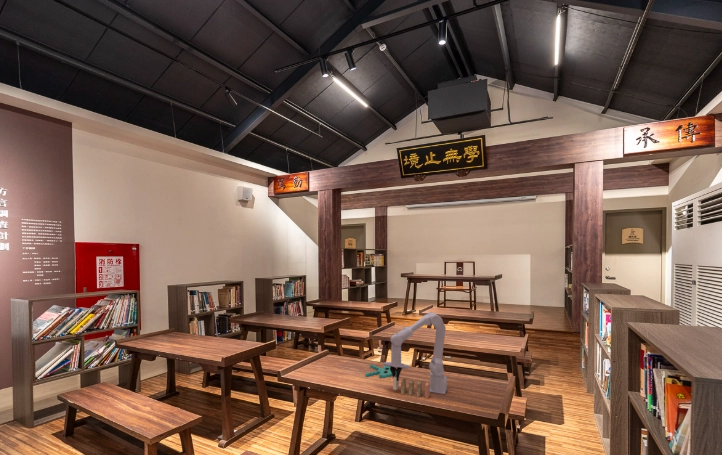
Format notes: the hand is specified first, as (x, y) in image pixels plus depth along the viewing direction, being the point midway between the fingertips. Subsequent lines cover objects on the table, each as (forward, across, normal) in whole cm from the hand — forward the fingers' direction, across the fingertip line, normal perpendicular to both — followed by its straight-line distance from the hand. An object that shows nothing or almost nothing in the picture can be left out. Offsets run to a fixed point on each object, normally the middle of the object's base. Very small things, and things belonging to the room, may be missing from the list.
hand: (396, 380), depth 205 cm
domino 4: (+6, -18, 0) cm, 19 cm away
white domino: (+4, 0, 0) cm, 4 cm away
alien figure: (+7, +17, -27) cm, 33 cm away
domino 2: (+6, -9, 0) cm, 11 cm away
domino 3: (+6, -14, 0) cm, 15 cm away
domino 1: (+6, -4, 0) cm, 8 cm away
